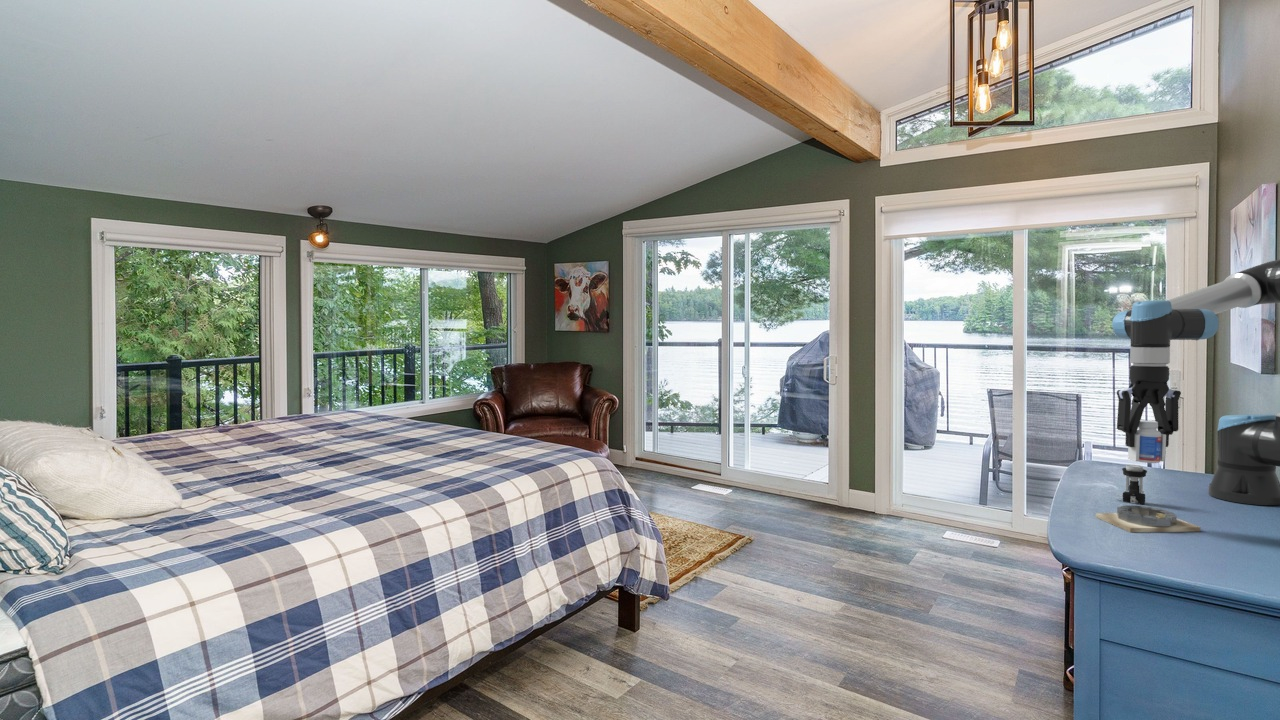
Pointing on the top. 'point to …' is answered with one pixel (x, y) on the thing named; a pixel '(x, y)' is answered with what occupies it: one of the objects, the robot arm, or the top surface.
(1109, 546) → the top surface
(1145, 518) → the ring
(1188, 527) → the board
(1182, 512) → the top surface
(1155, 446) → the pill bottle
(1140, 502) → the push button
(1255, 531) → the top surface
